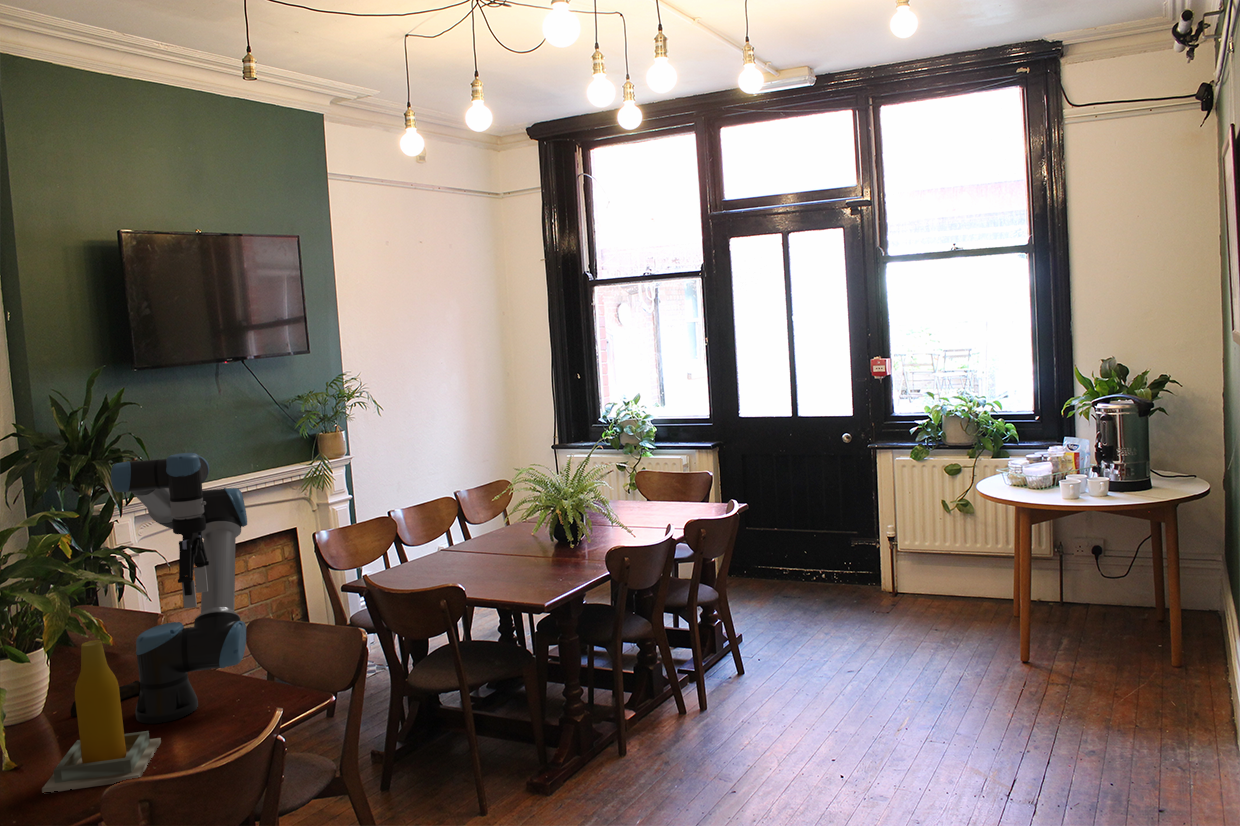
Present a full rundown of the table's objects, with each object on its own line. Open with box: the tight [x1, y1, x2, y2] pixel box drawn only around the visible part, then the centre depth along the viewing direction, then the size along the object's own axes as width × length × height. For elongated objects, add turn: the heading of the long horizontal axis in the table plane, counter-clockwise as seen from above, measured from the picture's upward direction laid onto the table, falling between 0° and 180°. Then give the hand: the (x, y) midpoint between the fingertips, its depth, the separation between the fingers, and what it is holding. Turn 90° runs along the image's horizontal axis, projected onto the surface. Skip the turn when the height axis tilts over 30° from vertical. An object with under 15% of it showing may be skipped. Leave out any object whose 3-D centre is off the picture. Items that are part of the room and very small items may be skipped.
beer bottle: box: [74, 639, 126, 764], centre depth 222 cm, size 9×9×29 cm
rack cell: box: [41, 730, 162, 794], centre depth 224 cm, size 20×20×4 cm
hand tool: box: [70, 679, 141, 718], centre depth 262 cm, size 19×4×5 cm, turn 143°
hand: (196, 599), depth 236 cm, fingers open, 13 cm apart
